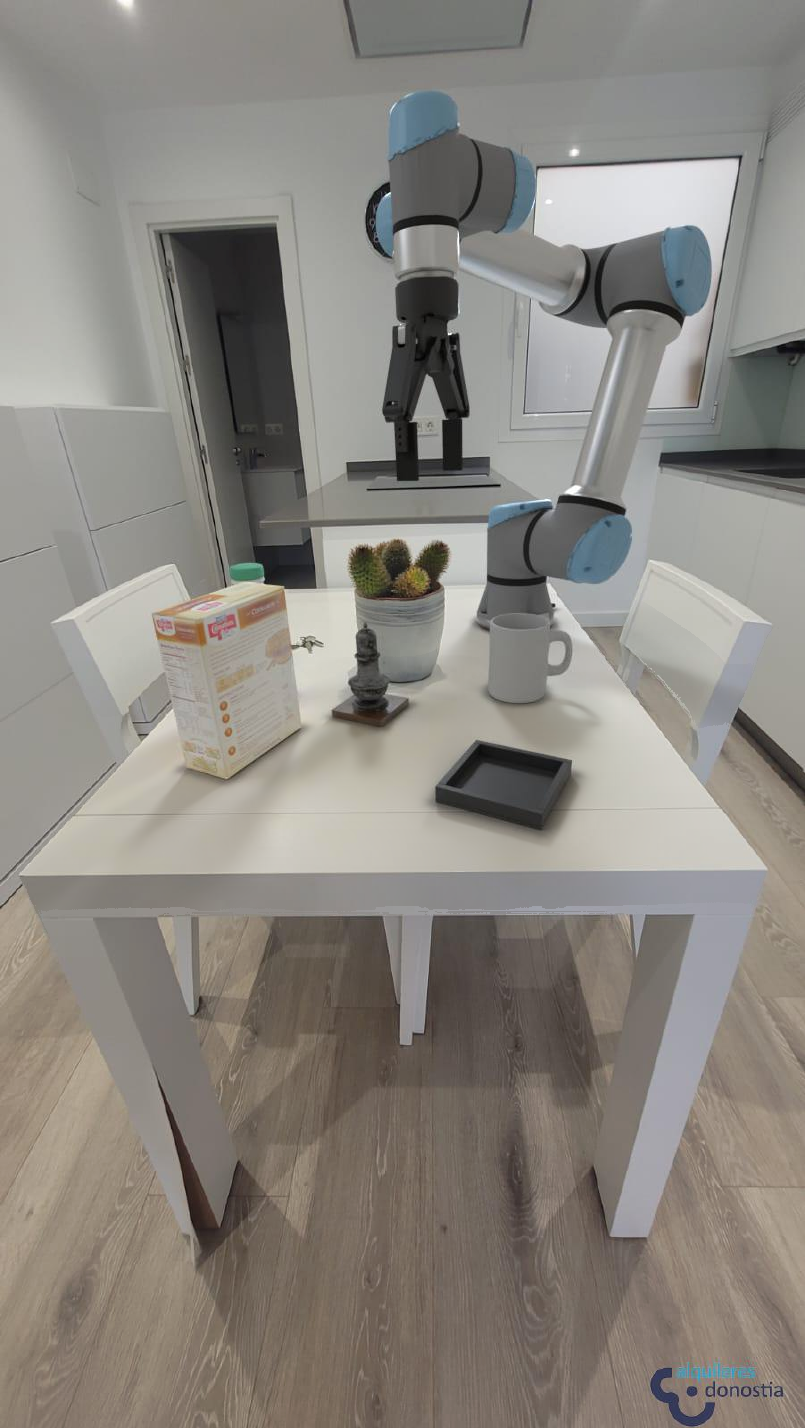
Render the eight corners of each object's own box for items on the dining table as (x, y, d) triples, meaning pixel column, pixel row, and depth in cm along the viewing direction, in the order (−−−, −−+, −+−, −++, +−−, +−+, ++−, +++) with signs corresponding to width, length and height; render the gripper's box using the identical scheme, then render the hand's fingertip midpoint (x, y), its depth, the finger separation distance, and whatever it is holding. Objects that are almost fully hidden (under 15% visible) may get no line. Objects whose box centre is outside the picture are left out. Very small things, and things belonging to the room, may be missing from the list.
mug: (491, 704, 85) (493, 631, 81) (484, 681, 93) (486, 613, 88) (575, 702, 85) (582, 628, 80) (561, 679, 93) (568, 611, 88)
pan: (475, 753, 73) (476, 739, 72) (570, 774, 68) (572, 759, 67) (435, 801, 64) (435, 786, 63) (541, 830, 59) (542, 814, 58)
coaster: (362, 695, 90) (361, 689, 89) (408, 704, 86) (408, 698, 86) (332, 716, 84) (331, 710, 83) (381, 727, 80) (380, 720, 80)
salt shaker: (354, 715, 81) (348, 631, 76) (346, 698, 86) (339, 619, 81) (395, 709, 83) (392, 626, 78) (385, 693, 88) (381, 614, 83)
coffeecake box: (263, 718, 84) (242, 580, 75) (304, 727, 81) (287, 585, 72) (183, 768, 72) (147, 611, 64) (227, 781, 69) (196, 618, 60)
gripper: (442, 298, 81) (445, 467, 90) (340, 267, 61) (358, 485, 71) (494, 290, 77) (491, 466, 87) (404, 255, 58) (413, 486, 68)
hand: (431, 475), depth 79 cm, fingers open, 13 cm apart
